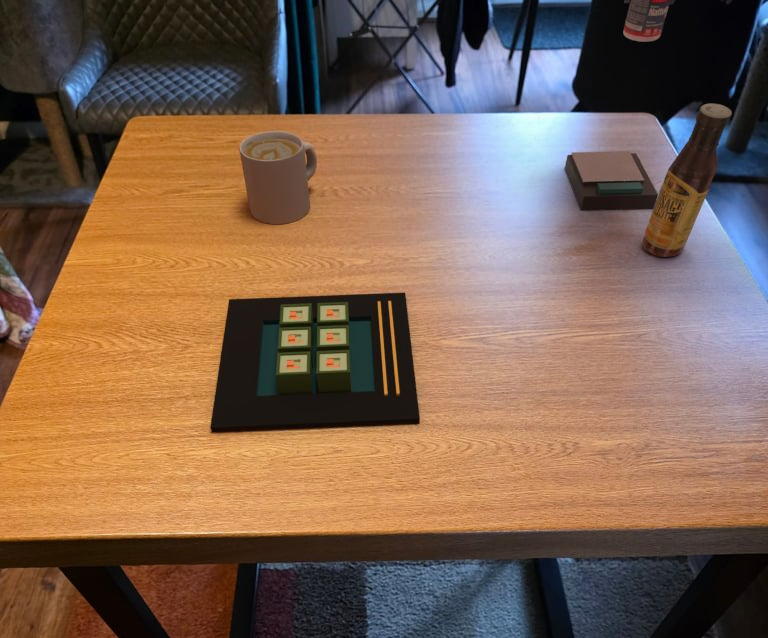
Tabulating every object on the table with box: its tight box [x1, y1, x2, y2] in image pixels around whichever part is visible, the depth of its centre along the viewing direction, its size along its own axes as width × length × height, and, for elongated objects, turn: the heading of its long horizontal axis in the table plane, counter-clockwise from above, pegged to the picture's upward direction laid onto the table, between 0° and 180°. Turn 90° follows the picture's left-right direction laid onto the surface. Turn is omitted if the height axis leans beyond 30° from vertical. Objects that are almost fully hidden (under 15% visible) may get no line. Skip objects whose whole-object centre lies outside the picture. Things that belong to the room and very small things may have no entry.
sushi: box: [209, 292, 421, 433], centre depth 85 cm, size 25×25×4 cm
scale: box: [564, 150, 659, 211], centre depth 111 cm, size 12×14×3 cm
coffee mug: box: [238, 130, 318, 225], centre depth 106 cm, size 13×10×10 cm
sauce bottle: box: [642, 103, 733, 258], centre depth 93 cm, size 6×6×20 cm
